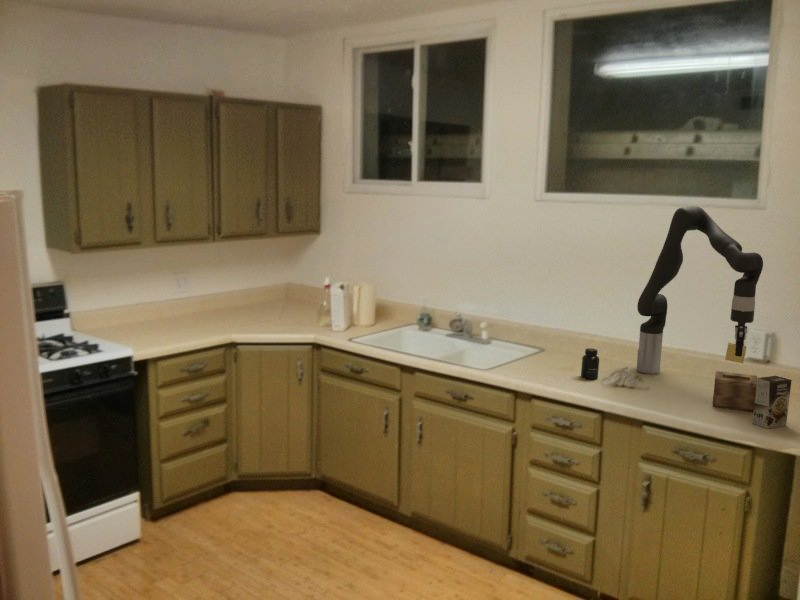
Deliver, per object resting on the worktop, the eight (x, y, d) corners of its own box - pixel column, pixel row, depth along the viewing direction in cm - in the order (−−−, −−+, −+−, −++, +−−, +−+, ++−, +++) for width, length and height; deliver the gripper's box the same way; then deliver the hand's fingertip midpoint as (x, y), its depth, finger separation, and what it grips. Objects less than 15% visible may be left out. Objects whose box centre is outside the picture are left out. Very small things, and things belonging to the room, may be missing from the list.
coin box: (712, 406, 266) (715, 379, 264) (713, 397, 276) (715, 371, 275) (755, 412, 260) (758, 384, 258) (754, 402, 271) (757, 375, 269)
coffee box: (767, 429, 243) (773, 382, 240) (751, 423, 249) (756, 377, 246) (787, 425, 247) (792, 379, 244) (771, 419, 252) (776, 374, 250)
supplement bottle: (591, 381, 296) (593, 352, 294) (577, 377, 301) (579, 349, 299) (601, 378, 300) (603, 349, 298) (587, 374, 305) (589, 346, 303)
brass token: (725, 359, 266) (728, 344, 265) (725, 358, 268) (728, 342, 267) (743, 363, 264) (746, 347, 262) (743, 361, 266) (746, 345, 265)
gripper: (731, 304, 270) (727, 350, 273) (731, 310, 257) (726, 358, 260) (754, 306, 267) (749, 352, 270) (755, 312, 254) (750, 360, 257)
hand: (738, 355), depth 265 cm, fingers closed on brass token, 2 cm apart
